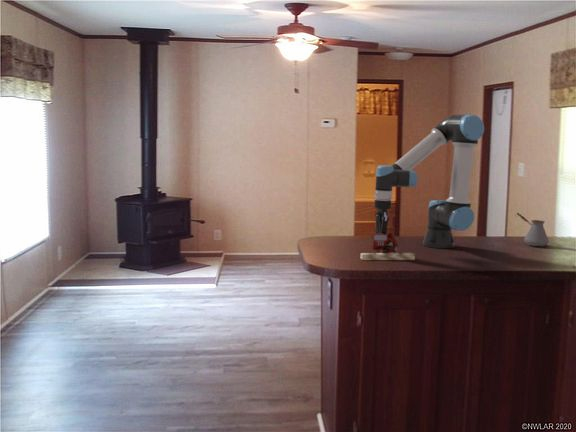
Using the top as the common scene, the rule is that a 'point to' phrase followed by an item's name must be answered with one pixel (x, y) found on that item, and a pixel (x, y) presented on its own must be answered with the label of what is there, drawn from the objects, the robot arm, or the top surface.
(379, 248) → the toy fire truck
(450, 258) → the top surface
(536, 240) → the coffee pot
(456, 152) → the robot arm
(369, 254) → the beige long bar
